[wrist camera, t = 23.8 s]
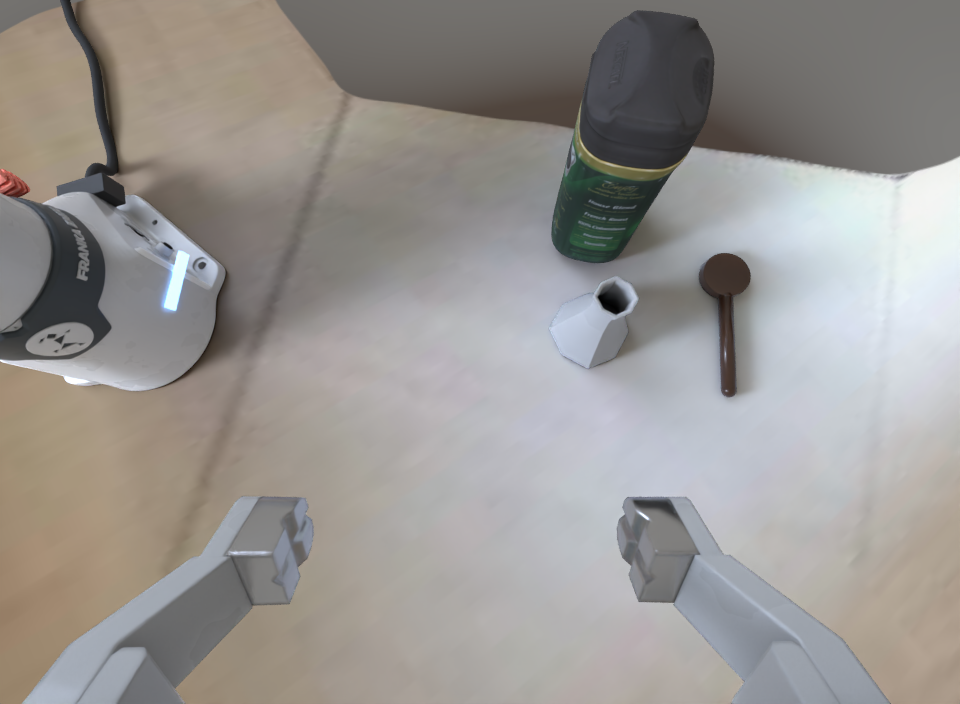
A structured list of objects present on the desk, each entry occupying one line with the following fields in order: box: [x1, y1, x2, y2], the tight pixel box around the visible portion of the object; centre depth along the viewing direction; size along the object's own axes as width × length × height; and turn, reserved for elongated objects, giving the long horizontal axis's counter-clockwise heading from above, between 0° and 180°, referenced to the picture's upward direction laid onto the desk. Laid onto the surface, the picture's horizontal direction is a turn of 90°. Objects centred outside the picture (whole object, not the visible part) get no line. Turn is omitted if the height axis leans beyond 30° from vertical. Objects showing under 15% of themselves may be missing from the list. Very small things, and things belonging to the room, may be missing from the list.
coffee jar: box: [552, 10, 714, 263], centre depth 32 cm, size 10×8×19 cm
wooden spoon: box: [699, 253, 751, 397], centre depth 38 cm, size 14×4×1 cm, turn 175°
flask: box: [549, 276, 639, 369], centre depth 34 cm, size 7×7×10 cm
